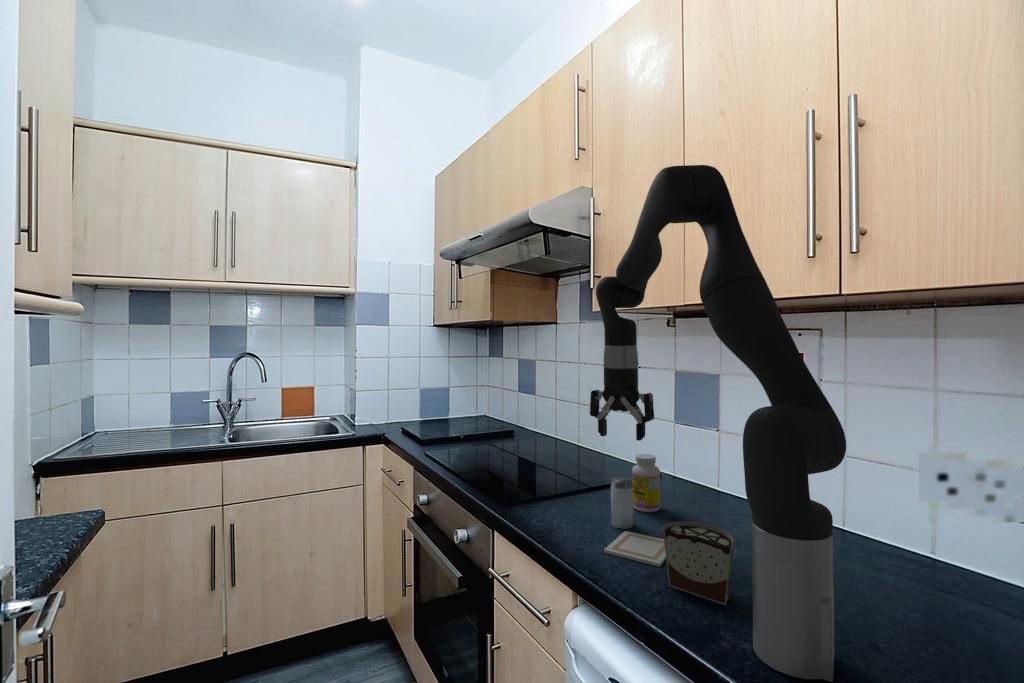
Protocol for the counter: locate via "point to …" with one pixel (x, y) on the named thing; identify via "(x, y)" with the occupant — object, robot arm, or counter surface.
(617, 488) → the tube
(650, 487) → the supplement bottle
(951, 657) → the counter surface
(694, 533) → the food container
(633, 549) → the card
